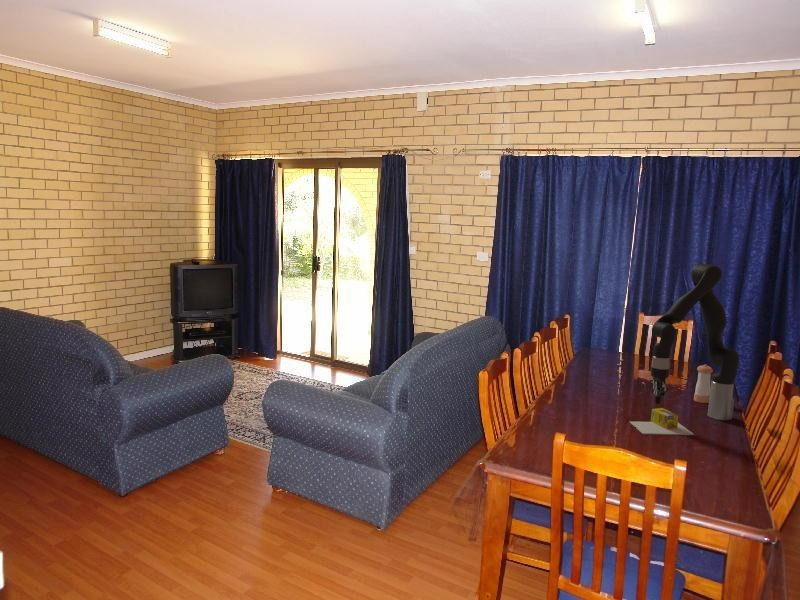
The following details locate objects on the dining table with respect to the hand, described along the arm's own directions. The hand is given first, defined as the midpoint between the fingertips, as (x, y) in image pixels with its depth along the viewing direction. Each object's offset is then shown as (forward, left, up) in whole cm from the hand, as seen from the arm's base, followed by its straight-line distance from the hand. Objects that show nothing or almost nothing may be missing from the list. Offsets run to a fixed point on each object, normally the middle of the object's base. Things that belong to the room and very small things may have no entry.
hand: (657, 403), depth 260 cm
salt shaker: (-39, -32, -9) cm, 51 cm away
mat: (+1, +8, -9) cm, 12 cm away
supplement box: (0, -1, -6) cm, 6 cm away
